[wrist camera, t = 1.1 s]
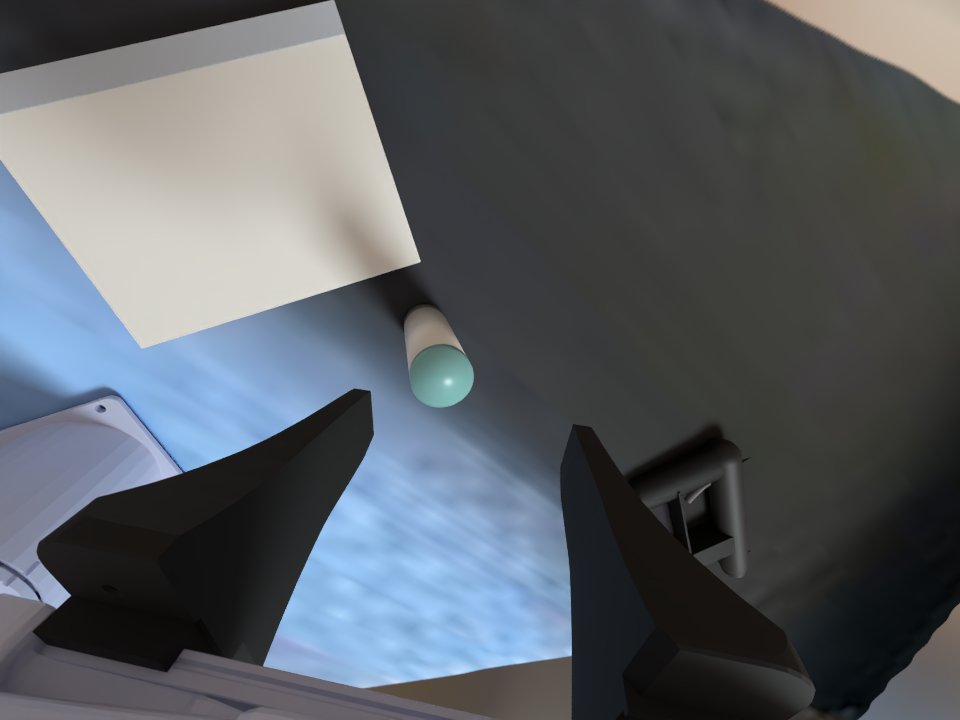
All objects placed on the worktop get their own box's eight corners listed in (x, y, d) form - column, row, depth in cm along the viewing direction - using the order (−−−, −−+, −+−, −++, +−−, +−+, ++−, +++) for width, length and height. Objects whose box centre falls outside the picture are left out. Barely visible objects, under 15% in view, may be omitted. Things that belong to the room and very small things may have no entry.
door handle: (635, 627, 40) (764, 569, 40) (596, 515, 31) (760, 441, 31) (619, 598, 43) (739, 544, 43) (580, 488, 34) (730, 421, 34)
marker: (411, 350, 24) (422, 415, 16) (397, 311, 23) (400, 361, 15) (451, 336, 24) (480, 394, 16) (438, 298, 23) (463, 340, 15)
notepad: (150, 344, 20) (140, 349, 19) (-33, 93, 15) (-57, 86, 14) (419, 260, 22) (420, 262, 21) (336, 10, 17) (333, -1, 16)
